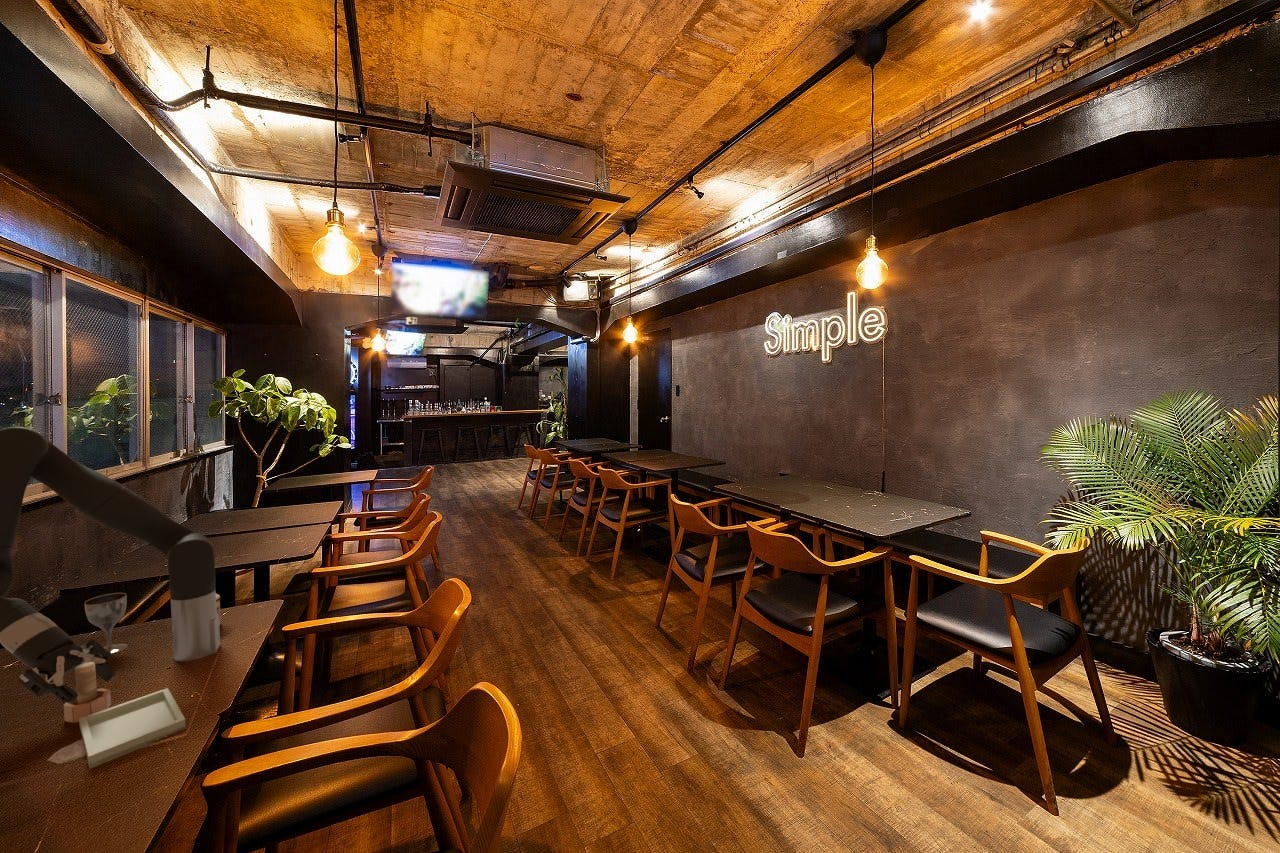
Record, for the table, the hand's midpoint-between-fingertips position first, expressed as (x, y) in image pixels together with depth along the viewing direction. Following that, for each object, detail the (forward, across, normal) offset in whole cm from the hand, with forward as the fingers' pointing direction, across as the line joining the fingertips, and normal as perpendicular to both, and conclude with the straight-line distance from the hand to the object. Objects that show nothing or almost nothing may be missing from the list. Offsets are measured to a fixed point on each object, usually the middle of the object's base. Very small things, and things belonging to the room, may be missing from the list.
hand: (93, 688), depth 111 cm
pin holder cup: (+3, 0, +5) cm, 6 cm away
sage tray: (+14, -5, -5) cm, 16 cm away
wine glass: (-13, +28, +22) cm, 38 cm away
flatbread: (+11, -12, -1) cm, 16 cm away
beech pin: (+3, 0, +5) cm, 6 cm away
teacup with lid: (-3, +42, +12) cm, 44 cm away
